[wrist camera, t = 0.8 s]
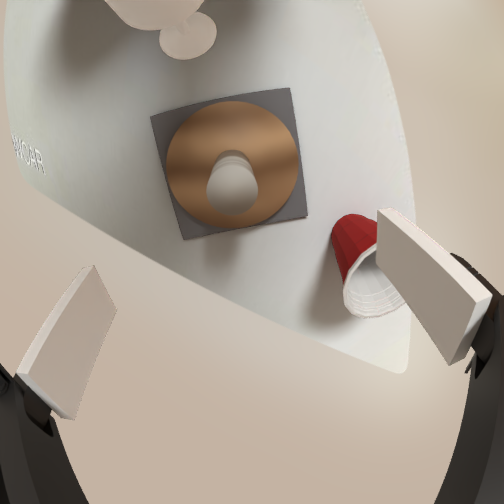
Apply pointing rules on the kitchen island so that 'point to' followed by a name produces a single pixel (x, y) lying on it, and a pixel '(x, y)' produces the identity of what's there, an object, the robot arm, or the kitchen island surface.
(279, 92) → the mat
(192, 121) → the lid
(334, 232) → the plastic cup
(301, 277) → the kitchen island surface
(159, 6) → the champagne flute
